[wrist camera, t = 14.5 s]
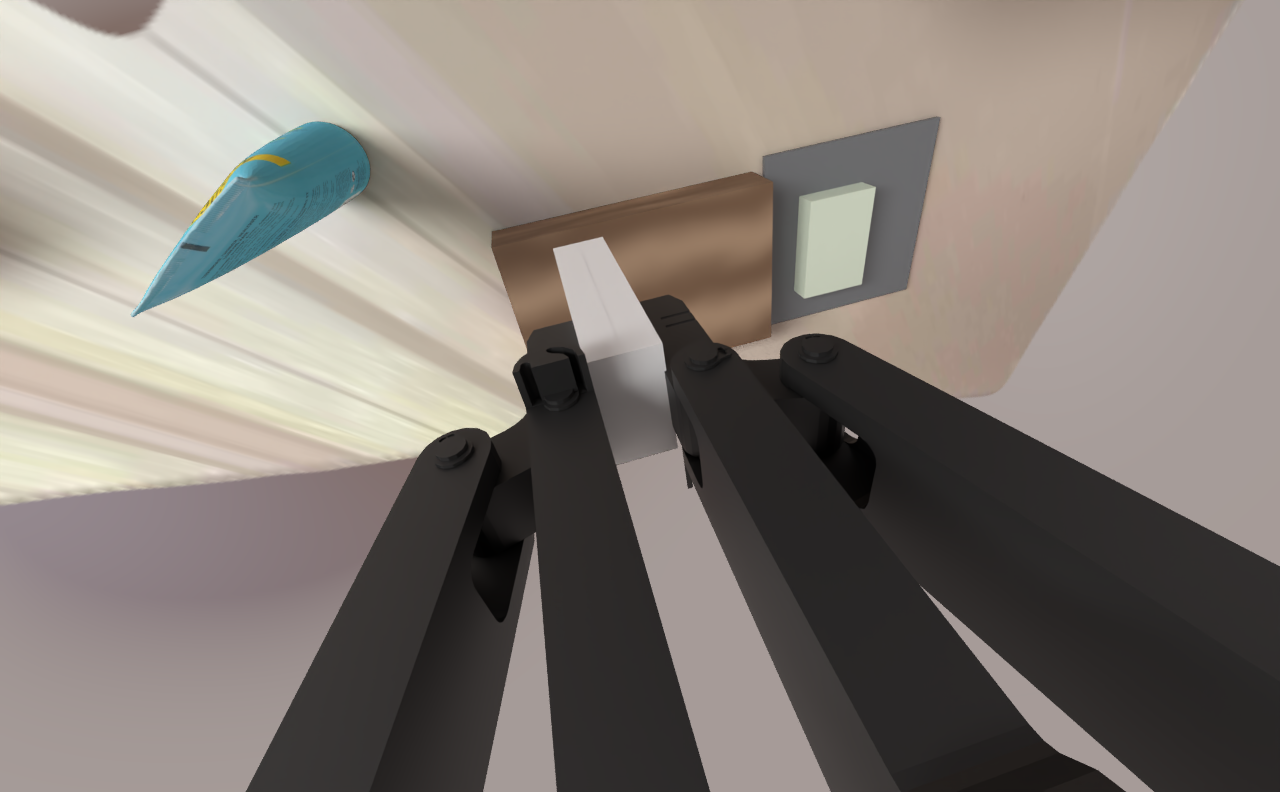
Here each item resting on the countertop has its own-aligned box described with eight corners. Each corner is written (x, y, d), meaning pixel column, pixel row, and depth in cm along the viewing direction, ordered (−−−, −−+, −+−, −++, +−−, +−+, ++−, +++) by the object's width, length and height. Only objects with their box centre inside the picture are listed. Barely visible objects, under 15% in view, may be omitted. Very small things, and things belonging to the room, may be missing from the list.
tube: (321, 87, 31) (148, 121, 16) (394, 145, 34) (306, 222, 18) (266, 179, 33) (65, 287, 18) (338, 227, 36) (218, 357, 20)
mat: (762, 156, 40) (764, 157, 39) (936, 116, 41) (940, 117, 41) (762, 324, 49) (764, 326, 49) (903, 287, 51) (906, 289, 51)
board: (492, 231, 38) (491, 247, 35) (751, 171, 40) (773, 181, 37) (540, 374, 47) (543, 397, 43) (753, 318, 49) (770, 336, 46)
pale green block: (875, 187, 41) (861, 182, 43) (811, 201, 40) (799, 196, 42) (861, 284, 47) (849, 276, 48) (804, 298, 46) (794, 290, 48)
